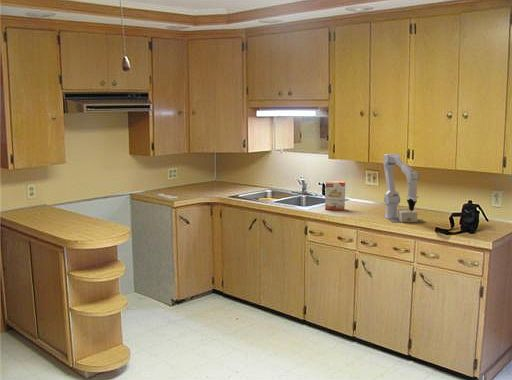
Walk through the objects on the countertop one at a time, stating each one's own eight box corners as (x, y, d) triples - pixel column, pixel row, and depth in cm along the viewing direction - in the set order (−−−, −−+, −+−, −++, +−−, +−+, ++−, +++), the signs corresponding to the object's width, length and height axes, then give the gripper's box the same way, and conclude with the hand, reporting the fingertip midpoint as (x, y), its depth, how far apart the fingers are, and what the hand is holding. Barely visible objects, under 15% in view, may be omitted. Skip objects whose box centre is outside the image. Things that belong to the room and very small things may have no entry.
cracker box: (325, 209, 409) (325, 181, 405) (325, 208, 414) (326, 180, 411) (344, 210, 405) (344, 182, 402) (344, 209, 411) (345, 181, 408)
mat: (389, 219, 373) (389, 219, 373) (422, 219, 373) (422, 219, 373) (392, 222, 365) (392, 221, 365) (425, 222, 365) (425, 221, 365)
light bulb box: (417, 222, 364) (413, 218, 375) (417, 211, 363) (413, 209, 374) (401, 222, 364) (397, 219, 375) (401, 212, 363) (397, 209, 374)
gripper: (421, 191, 350) (420, 212, 352) (415, 188, 364) (414, 208, 367) (410, 191, 350) (409, 212, 352) (404, 188, 365) (403, 208, 367)
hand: (411, 210), depth 359 cm, fingers closed
